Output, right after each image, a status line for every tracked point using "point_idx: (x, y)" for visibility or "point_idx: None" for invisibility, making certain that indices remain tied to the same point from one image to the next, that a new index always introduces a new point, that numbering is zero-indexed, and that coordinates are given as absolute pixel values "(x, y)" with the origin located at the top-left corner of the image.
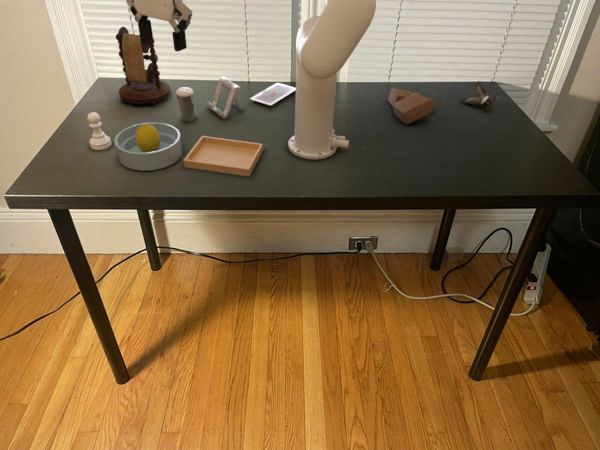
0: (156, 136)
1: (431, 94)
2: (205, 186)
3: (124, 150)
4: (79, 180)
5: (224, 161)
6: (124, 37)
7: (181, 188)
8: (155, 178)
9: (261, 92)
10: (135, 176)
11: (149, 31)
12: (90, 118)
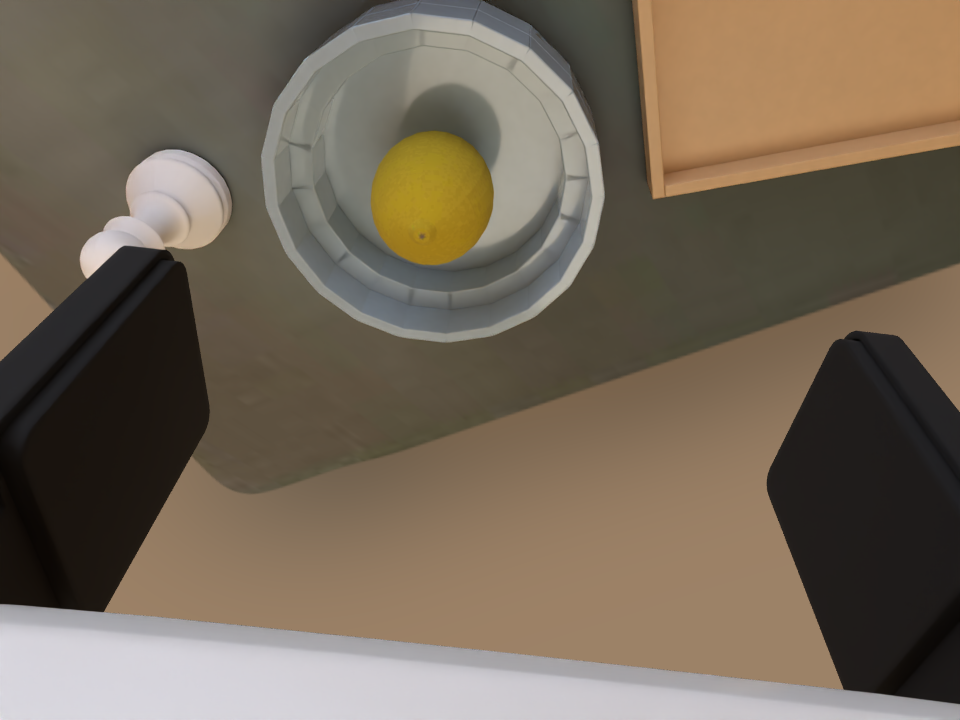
0: (487, 206)
1: None
2: (801, 265)
3: (423, 337)
4: (338, 400)
5: (840, 63)
6: None
7: (708, 311)
8: (574, 297)
9: None
10: None
11: (137, 378)
12: None
